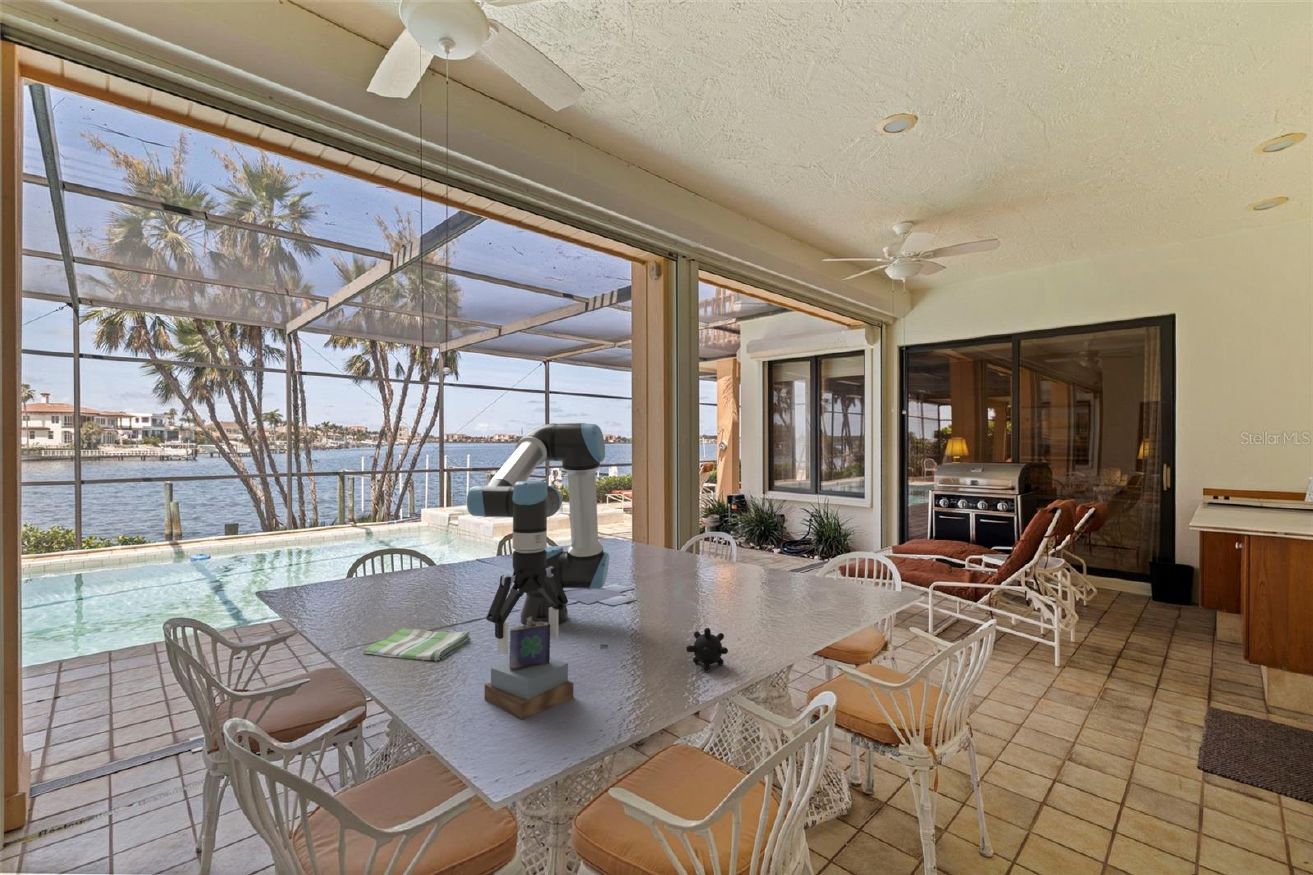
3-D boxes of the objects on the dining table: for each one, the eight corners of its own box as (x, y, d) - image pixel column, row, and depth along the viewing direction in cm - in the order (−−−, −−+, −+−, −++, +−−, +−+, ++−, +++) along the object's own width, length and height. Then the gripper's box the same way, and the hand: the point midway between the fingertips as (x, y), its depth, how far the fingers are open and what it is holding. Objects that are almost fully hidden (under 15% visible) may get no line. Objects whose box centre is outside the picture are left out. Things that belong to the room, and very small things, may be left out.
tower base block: (535, 682, 137) (535, 666, 137) (573, 700, 128) (573, 682, 128) (484, 702, 127) (484, 684, 127) (521, 723, 117) (521, 703, 117)
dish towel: (437, 664, 148) (438, 650, 148) (361, 657, 153) (361, 643, 153) (472, 642, 165) (472, 629, 165) (402, 635, 169) (402, 624, 169)
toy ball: (737, 648, 150) (736, 652, 139) (709, 677, 150) (705, 683, 138) (710, 617, 154) (706, 619, 142) (681, 645, 153) (676, 649, 142)
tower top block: (531, 668, 136) (531, 651, 136) (567, 680, 129) (567, 663, 129) (490, 685, 126) (491, 667, 126) (527, 700, 119) (527, 681, 119)
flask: (511, 671, 124) (511, 622, 124) (507, 666, 126) (508, 618, 127) (551, 663, 128) (552, 616, 129) (547, 659, 131) (547, 613, 131)
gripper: (489, 560, 115) (488, 664, 115) (583, 544, 134) (582, 634, 134) (470, 555, 120) (469, 655, 120) (563, 540, 139) (562, 627, 139)
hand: (529, 644), depth 127 cm, fingers open, 13 cm apart
